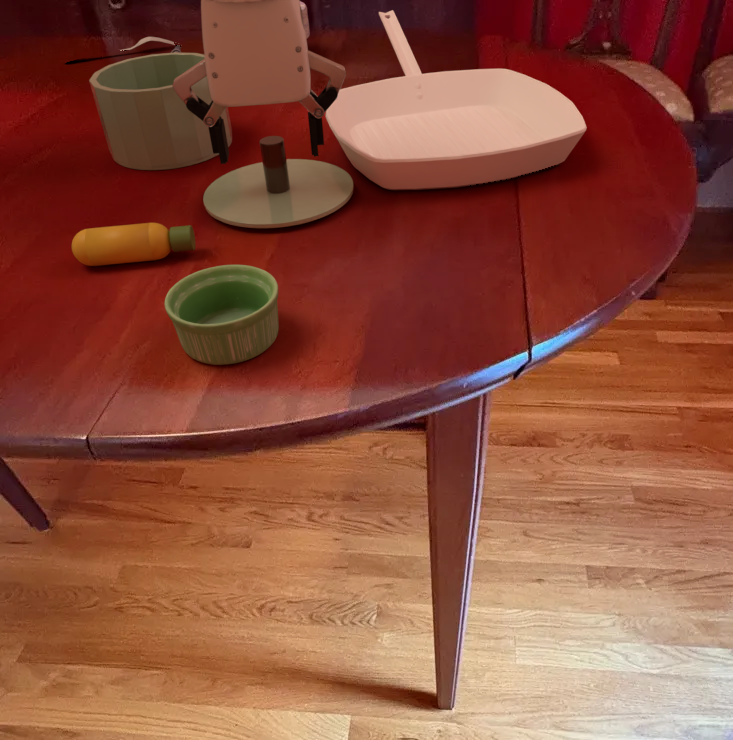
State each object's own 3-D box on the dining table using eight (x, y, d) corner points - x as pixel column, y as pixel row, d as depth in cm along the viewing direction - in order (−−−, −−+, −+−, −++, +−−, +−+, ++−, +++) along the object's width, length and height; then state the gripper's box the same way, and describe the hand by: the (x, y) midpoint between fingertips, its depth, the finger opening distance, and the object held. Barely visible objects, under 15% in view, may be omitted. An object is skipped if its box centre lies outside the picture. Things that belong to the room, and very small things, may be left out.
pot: (101, 175, 88) (77, 96, 82) (123, 130, 101) (103, 58, 95) (229, 163, 89) (214, 84, 83) (235, 119, 101) (222, 48, 95)
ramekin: (299, 312, 62) (293, 268, 60) (261, 377, 56) (252, 331, 53) (204, 303, 64) (194, 259, 62) (157, 364, 58) (143, 319, 55)
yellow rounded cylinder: (74, 274, 70) (62, 241, 67) (82, 256, 73) (71, 223, 70) (195, 263, 70) (187, 229, 68) (198, 245, 73) (190, 212, 71)
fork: (70, 74, 132) (63, 58, 130) (180, 44, 135) (175, 28, 133) (70, 78, 130) (63, 62, 128) (182, 48, 133) (177, 32, 131)
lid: (198, 240, 74) (184, 179, 70) (210, 174, 87) (199, 120, 83) (360, 225, 74) (356, 163, 70) (348, 161, 87) (344, 106, 83)
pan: (358, 213, 76) (352, 124, 70) (296, 88, 111) (288, 21, 105) (613, 173, 80) (627, 86, 74) (476, 64, 115) (478, -1, 109)
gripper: (337, -38, 70) (347, 136, 81) (157, -25, 69) (192, 148, 80) (342, -22, 64) (353, 162, 75) (146, -9, 63) (185, 176, 74)
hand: (270, 155), depth 77 cm, fingers open, 9 cm apart
